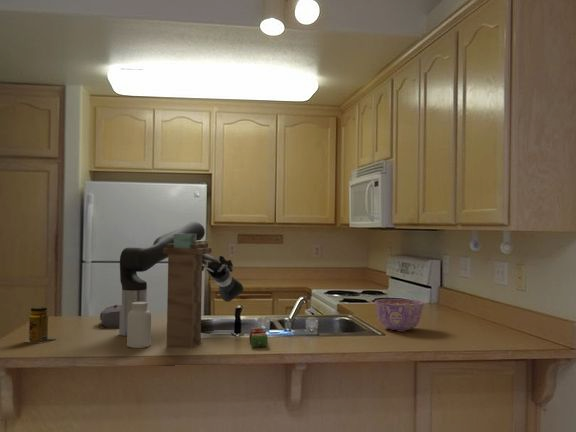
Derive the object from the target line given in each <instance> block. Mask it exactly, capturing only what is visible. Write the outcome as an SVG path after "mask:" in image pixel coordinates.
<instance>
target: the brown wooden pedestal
mask: <svg viewBox="0 0 576 432" xmlns="http://www.w3.org/2000/svg"><path fill="white" fill-rule="evenodd" d="M163 254H168V258H167V260H168V261H167V299H166V300H167V305H166V306H167V308H166V311H167V312H166V313H167V314H166V316H167V317H166V347H167V348H180V349H182V348H183V349H193V348H194V347H196V346H198V345H200V344H201V343H202V338H201V337H202V285H203V282H202V281H203V278H202V277H203V271H202V254H208V255H210V254H212V247H209V243H208V244H206V243H205V244H192V248H191V249H186V248H174V243H173V244H167V248H163Z"/></svg>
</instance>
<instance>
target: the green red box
mask: <svg viewBox="0 0 576 432" xmlns="http://www.w3.org/2000/svg"><path fill="white" fill-rule="evenodd" d="M268 339H269V338H268V334H267V332H266V330H265V329H264V328H263V327H252V328H251V330H250V334H249V343H250V345H251V347H252V348H257V347H258V348H261V347H266V346H267V345H268V341H269V340H268Z"/></svg>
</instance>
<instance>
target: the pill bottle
mask: <svg viewBox="0 0 576 432" xmlns="http://www.w3.org/2000/svg"><path fill="white" fill-rule="evenodd" d="M132 309H133V310H131V311H130V312H129V313H128V322H127V336H126V346H127V347H129V348H132V349H144V348H148V347H149V346H151V341H152V335H151V334H152V313H151V310H148V309H149V308H148V301H147V302H133V303H132Z"/></svg>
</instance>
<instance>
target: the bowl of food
mask: <svg viewBox="0 0 576 432" xmlns="http://www.w3.org/2000/svg"><path fill="white" fill-rule="evenodd" d="M374 302H375V303H374V304H375V308H376V313H377V317H378V320H379V323H380V324H381V325H382V326H384V327H386V328H388V329H391V330H390V331H392V330H397V331H396V332H404V331H403V330H409V331H410V330H412V329H414V328H415V327H417V326H418V324H419V323H420V319H421V316H422V313H423V308H424V305H425V303H424V301H421V300H416V299H408V298H407V299H406V298H379V299H376V300H374Z"/></svg>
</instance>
